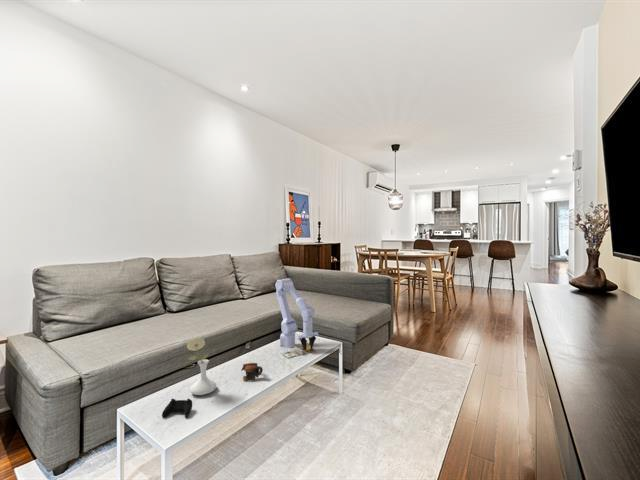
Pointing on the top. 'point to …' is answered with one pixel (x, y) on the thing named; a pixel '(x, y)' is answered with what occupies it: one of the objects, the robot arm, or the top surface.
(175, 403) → the gaming controller
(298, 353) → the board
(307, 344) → the ball
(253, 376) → the pottery mug
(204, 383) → the flower in vase
